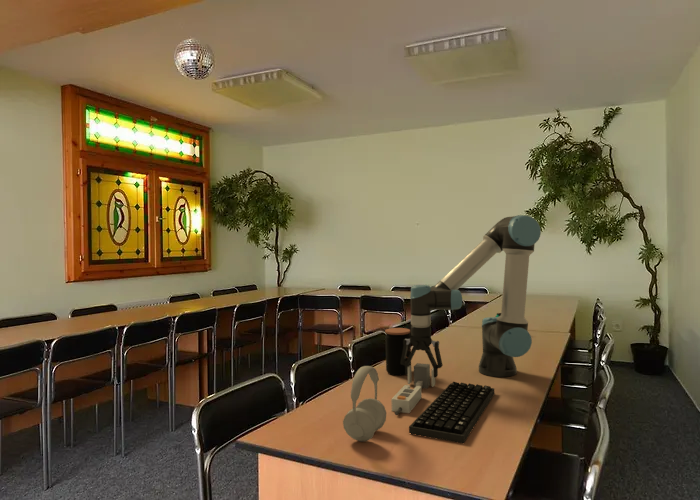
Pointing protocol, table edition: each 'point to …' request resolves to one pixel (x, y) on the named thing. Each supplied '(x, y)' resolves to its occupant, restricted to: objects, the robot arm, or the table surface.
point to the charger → (422, 375)
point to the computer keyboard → (453, 412)
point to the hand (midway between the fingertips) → (421, 384)
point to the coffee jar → (396, 350)
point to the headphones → (364, 409)
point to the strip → (406, 399)
